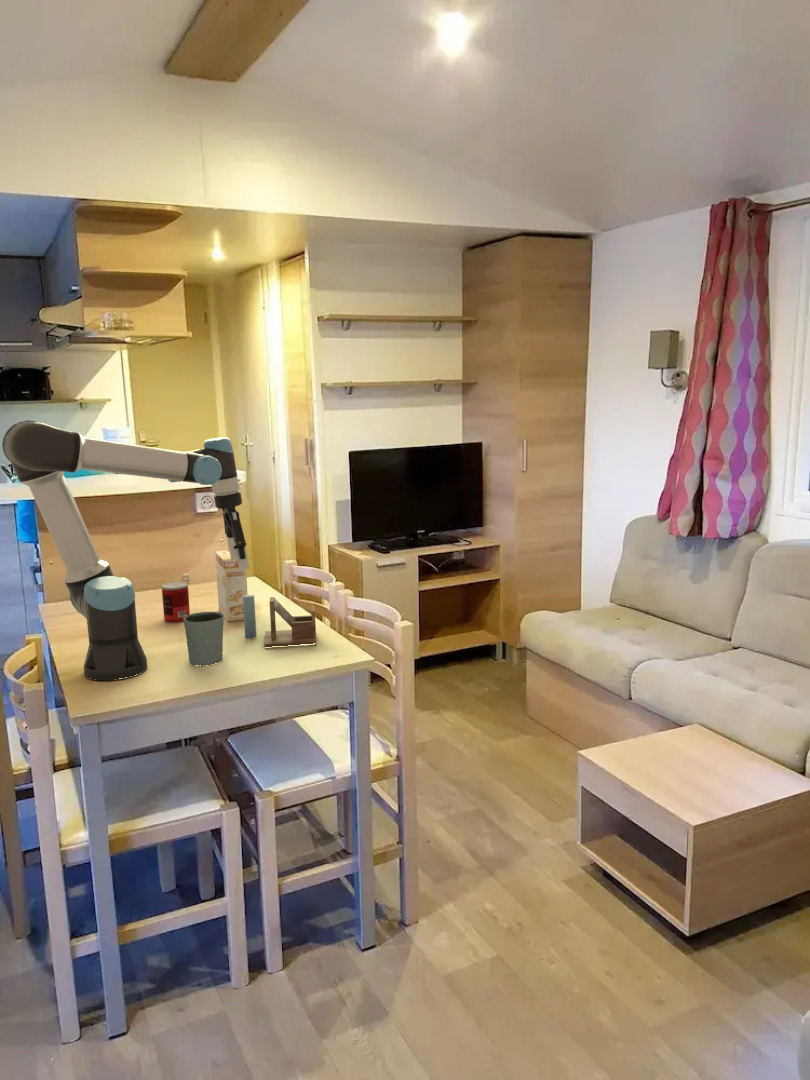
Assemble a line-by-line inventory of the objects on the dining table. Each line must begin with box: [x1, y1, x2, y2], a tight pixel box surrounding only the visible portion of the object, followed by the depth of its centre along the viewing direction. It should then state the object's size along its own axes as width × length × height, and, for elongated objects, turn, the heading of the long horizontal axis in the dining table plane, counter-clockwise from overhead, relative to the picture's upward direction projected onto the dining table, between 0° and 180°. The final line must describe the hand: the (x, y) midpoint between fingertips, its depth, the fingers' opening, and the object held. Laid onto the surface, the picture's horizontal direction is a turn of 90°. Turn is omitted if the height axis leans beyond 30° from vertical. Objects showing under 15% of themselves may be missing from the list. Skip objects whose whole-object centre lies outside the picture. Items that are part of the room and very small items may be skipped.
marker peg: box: [243, 594, 257, 639], centre depth 231 cm, size 3×3×12 cm
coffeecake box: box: [214, 549, 249, 622], centre depth 253 cm, size 15×7×20 cm, turn 22°
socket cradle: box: [263, 596, 317, 648], centre depth 227 cm, size 12×14×12 cm
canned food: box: [161, 581, 191, 624], centre depth 250 cm, size 8×8×11 cm
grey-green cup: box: [183, 611, 225, 667], centre depth 211 cm, size 10×10×12 cm
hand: (239, 564), depth 234 cm, fingers open, 13 cm apart
